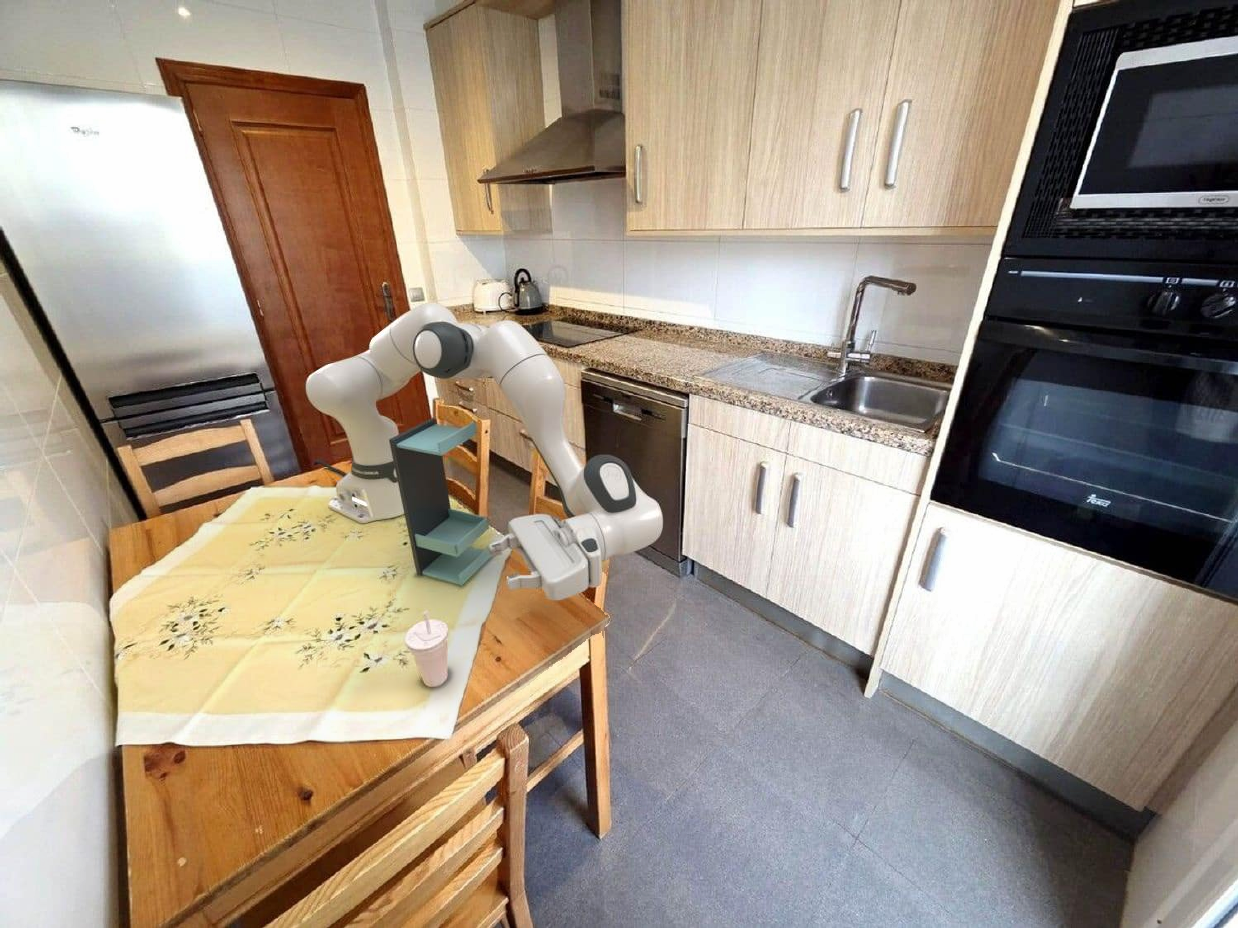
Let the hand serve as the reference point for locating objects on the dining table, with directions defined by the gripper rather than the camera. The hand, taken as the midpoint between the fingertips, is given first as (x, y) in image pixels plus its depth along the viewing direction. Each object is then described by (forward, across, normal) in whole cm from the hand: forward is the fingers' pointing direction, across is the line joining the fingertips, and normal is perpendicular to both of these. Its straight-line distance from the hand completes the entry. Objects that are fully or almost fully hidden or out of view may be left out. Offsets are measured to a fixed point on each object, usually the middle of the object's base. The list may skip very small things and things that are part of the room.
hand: (498, 566), depth 79 cm
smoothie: (+12, 0, +18) cm, 22 cm away
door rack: (+3, -29, +18) cm, 34 cm away
